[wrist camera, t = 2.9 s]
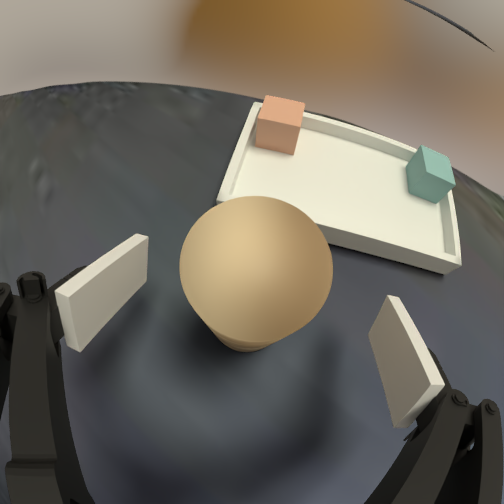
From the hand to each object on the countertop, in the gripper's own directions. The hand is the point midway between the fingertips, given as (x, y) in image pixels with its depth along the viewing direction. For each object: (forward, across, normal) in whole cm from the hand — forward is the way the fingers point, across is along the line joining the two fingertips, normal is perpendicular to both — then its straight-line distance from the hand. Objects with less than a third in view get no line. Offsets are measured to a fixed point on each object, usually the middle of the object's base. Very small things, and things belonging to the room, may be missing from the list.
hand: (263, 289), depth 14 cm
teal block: (+14, +13, +8) cm, 21 cm away
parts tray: (+13, +6, +5) cm, 15 cm away
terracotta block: (+14, -2, +8) cm, 16 cm away
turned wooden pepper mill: (+4, 0, -4) cm, 6 cm away
